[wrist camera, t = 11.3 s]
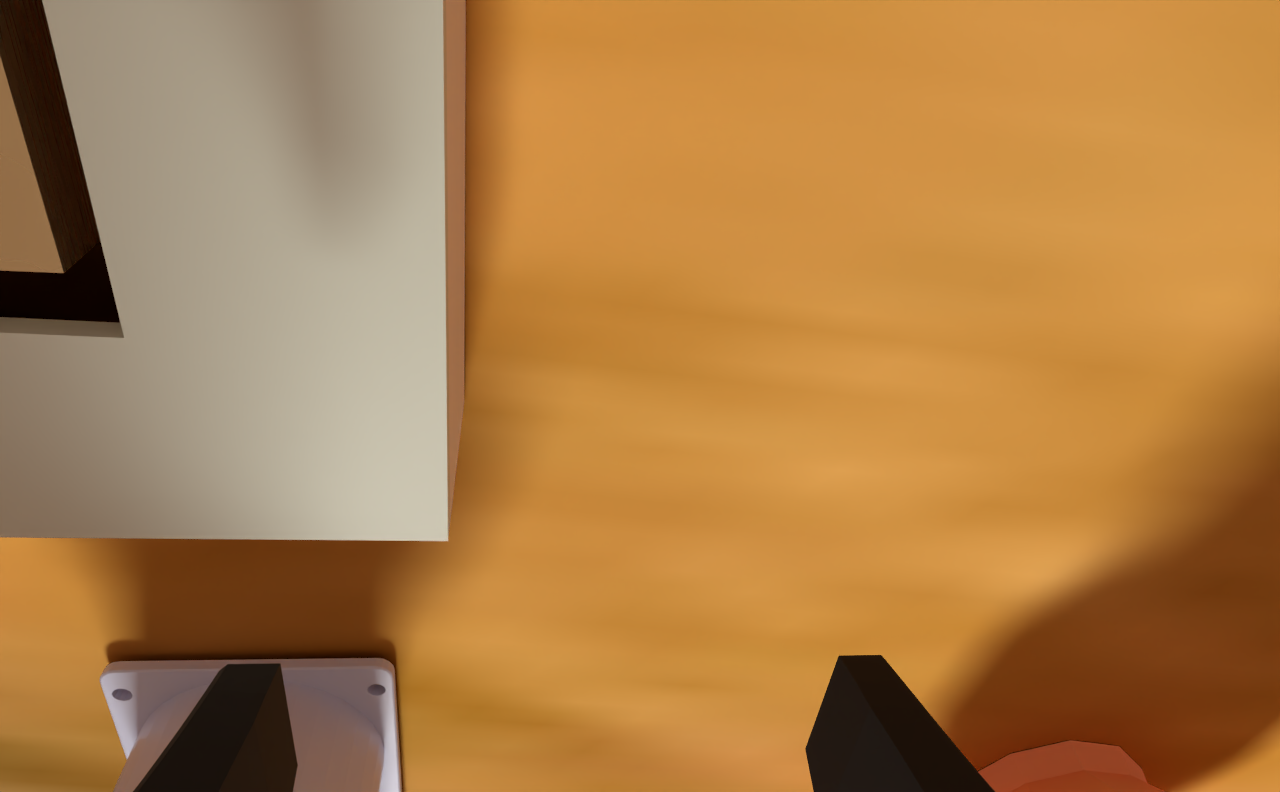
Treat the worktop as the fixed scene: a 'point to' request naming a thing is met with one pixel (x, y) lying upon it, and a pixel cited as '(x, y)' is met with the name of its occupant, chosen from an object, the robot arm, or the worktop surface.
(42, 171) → the wooden block
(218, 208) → the box
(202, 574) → the worktop surface
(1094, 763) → the potted cactus
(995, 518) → the worktop surface
